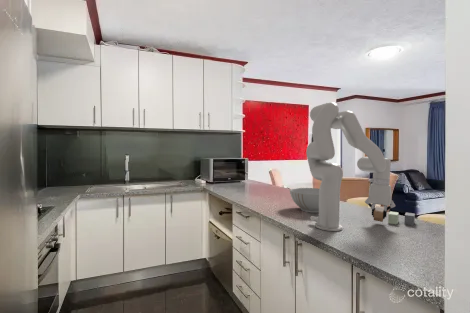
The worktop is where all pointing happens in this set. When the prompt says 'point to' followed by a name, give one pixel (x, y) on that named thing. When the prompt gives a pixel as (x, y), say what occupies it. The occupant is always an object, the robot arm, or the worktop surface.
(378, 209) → the walnut brick
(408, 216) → the charcoal brick
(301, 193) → the decorative bowl
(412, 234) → the worktop surface
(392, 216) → the sage brick
